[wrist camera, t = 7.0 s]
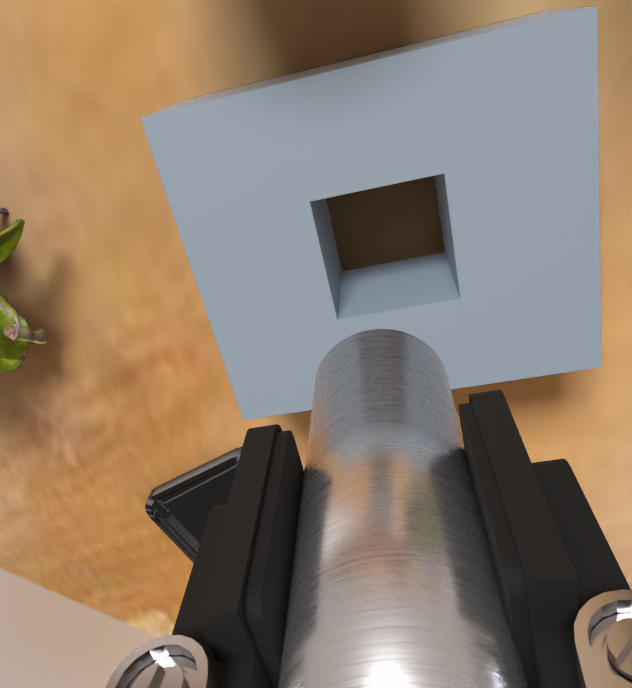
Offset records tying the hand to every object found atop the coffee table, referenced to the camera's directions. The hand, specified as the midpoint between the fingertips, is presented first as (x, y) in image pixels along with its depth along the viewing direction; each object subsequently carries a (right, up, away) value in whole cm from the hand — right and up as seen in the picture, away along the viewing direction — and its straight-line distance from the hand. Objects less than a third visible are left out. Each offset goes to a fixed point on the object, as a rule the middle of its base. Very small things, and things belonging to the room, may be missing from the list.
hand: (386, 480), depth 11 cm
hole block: (+2, +8, +14) cm, 17 cm away
